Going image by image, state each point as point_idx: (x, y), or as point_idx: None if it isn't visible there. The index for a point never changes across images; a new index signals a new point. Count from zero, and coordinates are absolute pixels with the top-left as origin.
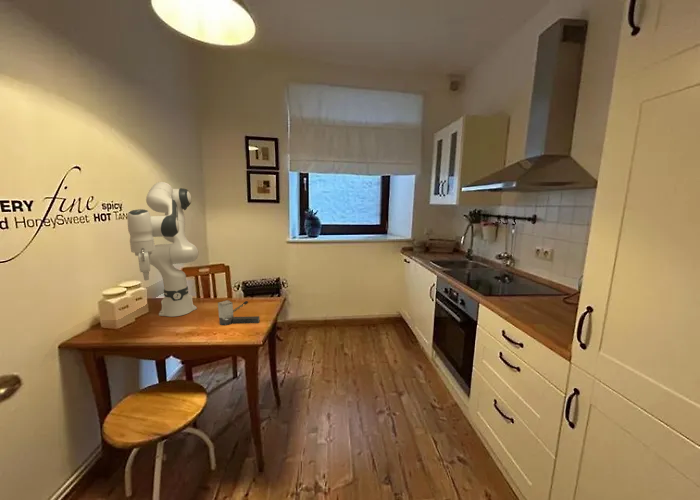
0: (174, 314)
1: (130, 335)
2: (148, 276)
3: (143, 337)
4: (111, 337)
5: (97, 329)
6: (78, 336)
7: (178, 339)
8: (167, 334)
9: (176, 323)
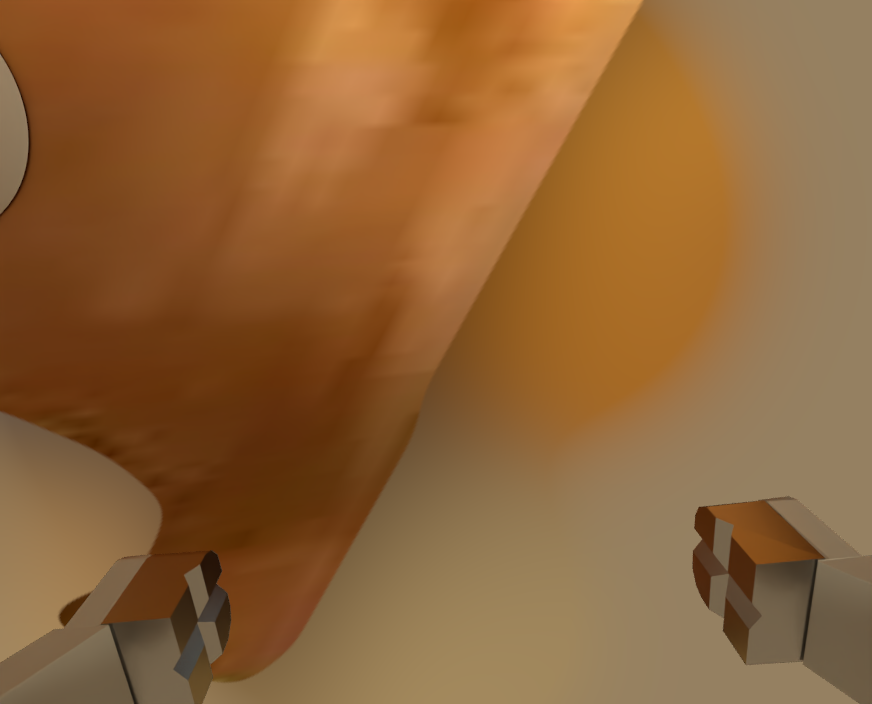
0: (11, 144)
1: (310, 415)
2: (854, 552)
3: (383, 337)
4: (294, 508)
5: None
6: None
7: (541, 106)
8: (406, 187)
9: (199, 127)
